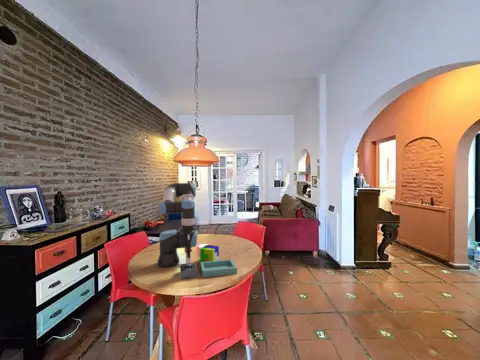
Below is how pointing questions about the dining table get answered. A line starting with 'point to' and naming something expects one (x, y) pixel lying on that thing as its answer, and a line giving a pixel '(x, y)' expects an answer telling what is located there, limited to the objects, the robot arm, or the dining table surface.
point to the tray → (218, 268)
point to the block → (188, 271)
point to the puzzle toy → (209, 253)
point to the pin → (188, 265)
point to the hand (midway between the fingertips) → (188, 261)
